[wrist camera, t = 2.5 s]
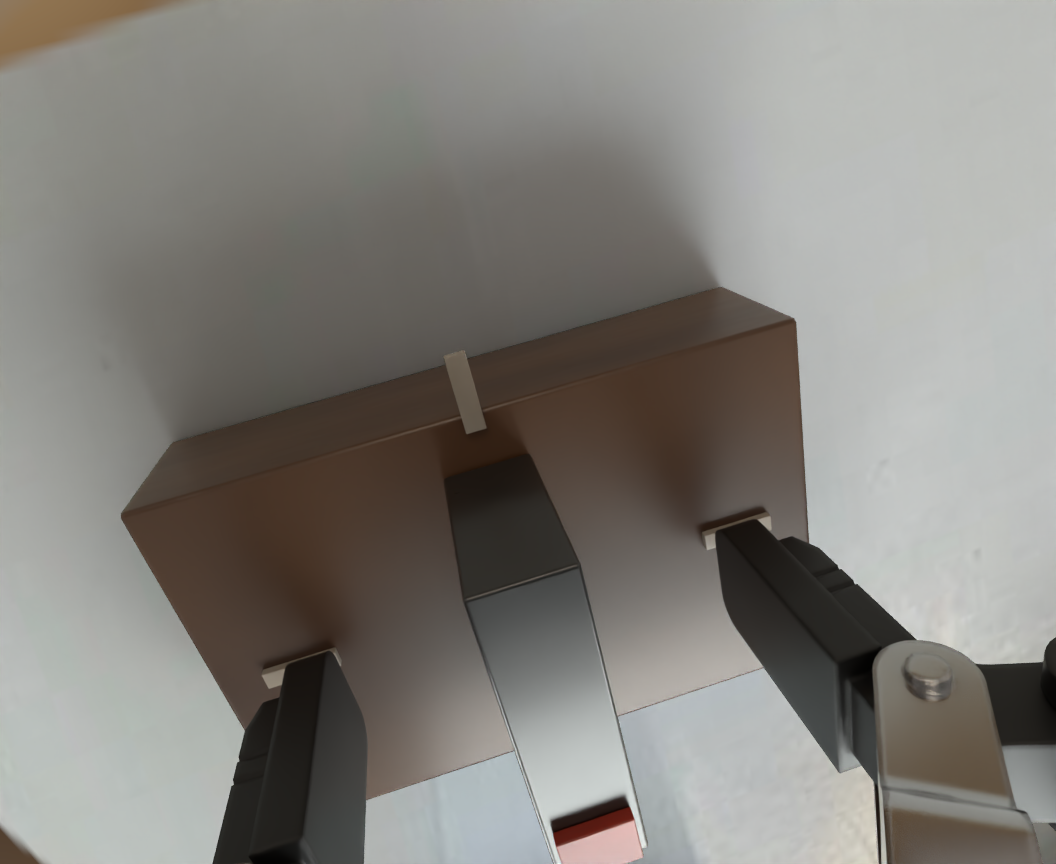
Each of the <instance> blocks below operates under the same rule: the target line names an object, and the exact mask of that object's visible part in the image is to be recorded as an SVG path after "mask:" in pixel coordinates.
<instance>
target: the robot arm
mask: <svg viewBox="0 0 1056 864" xmlns="http://www.w3.org/2000/svg"><path fill="white" fill-rule="evenodd" d="M715 544H716V551H717V559H718V566H719V574H720V581H721V589H722V596H723V600H724V604H725V607H726V610H727V612H728V615H729V617H730V619H731V621H732V623H733V625H734V626H735V628H736V629H737V631H738V632H739V633H740V635H741V636H742V638H743V639H744V640H745V642H746V643H747V645H748V646H749V647H750V649H751V650H752V652H753V653H754V654H755V656H756V657H757V659H758V660H759V661H760V663H761V664H762V666H763V667H764V668H765V670H766V671H767V673H768V674H769V675H770V677H771V678H772V680H773V681H774V682H775V684H776V685H777V687H778V688H779V689H780V691H781V692H782V694H783V695H784V696H785V698H786V699H787V701H788V702H789V703H790V705H791V706H792V708H793V709H794V710H795V712H796V713H797V715H798V716H799V717H800V719H801V720H802V722H803V723H804V724H805V726H806V727H807V729H808V730H809V731H810V733H811V734H812V735H813V737H814V738H815V740H816V741H817V742H818V744H819V745H820V747H821V748H822V749H823V751H824V752H825V754H826V755H827V756H828V758H829V759H830V761H831V762H832V763H833V765H834V766H835V768H836V769H837V770H838V772H839V773H842V772H845V771H848V770H851V769H854V768H857V767H859V766H862V767H863V768H864V769H865V771H866V772H867V773H868V775H869V776H870V777H871V778H872V780H873V781H874V804H875V821H876V839H877V857H878V864H1043V861H1042V857H1041V853H1040V849H1039V845H1038V841H1037V837H1036V834H1035V830H1034V827H1033V824H1032V823H1048V824H1049V825H1050V826H1051V827H1052V828H1053V829H1054V830H1055V831H1056V638H1054V639H1053V640H1052V641H1050V642H1049V644H1048V645H1047V647H1046V650H1045V654H1044V661H1043V662H1039V663H1017V664H995V665H982V664H975V663H974V662H973V661H971V660H970V659H969V658H968V657H967V656H965V655H963V654H962V653H960V652H959V651H957V650H954V649H952V648H950V647H948V646H945V645H942V644H939V643H935V642H930V641H923V640H916V639H915V638H914V637H913V636H912V635H911V634H910V633H909V632H908V631H907V630H906V629H904V628H903V627H902V626H901V625H900V624H899V623H898V622H897V621H896V620H895V619H894V618H893V617H892V616H891V615H890V614H889V613H887V612H886V611H885V610H884V609H883V608H882V607H881V606H880V605H879V604H878V603H877V602H876V601H875V600H874V599H873V598H872V597H870V596H869V595H868V594H867V593H866V592H865V591H864V590H863V589H862V588H861V587H860V586H859V585H858V584H856V585H855V584H854V582H853V580H852V579H851V578H850V577H849V576H848V575H847V574H846V573H845V572H844V571H843V570H842V569H840V570H839V568H838V565H836V564H835V563H834V562H833V561H832V560H831V559H830V558H829V557H828V556H827V555H826V554H825V553H824V552H823V551H822V550H820V549H819V548H818V547H816V546H813V545H811V544H809V543H807V542H804V541H802V540H800V539H798V538H796V537H793V536H790V537H787V538H784V539H781V540H778V539H777V538H776V537H775V536H774V535H773V534H772V533H771V532H770V531H769V530H768V529H767V528H766V527H765V526H764V525H763V524H762V523H761V522H760V521H759V520H757V519H751V520H748V521H745V522H741V523H738V524H735V525H732V526H729V527H725V528H722V529H719V530H717V531H716V533H715ZM367 755H368V740H367V732H366V727H365V722H364V719H363V715H362V712H361V710H360V708H359V705H358V703H357V701H356V699H355V697H354V695H353V693H352V691H351V688H350V686H349V684H348V682H347V680H346V678H345V676H344V674H343V671H342V669H341V667H340V665H339V663H338V661H337V659H336V657H335V655H334V654H333V653H332V652H331V651H326V652H323V653H320V654H317V655H313V656H310V657H307V658H304V659H301V660H297V661H294V662H291V663H288V664H287V665H286V668H285V671H284V676H283V681H282V686H281V691H280V696H279V697H278V698H275V699H272V700H269V701H266V702H263V703H262V705H261V706H260V708H259V709H258V711H257V713H256V714H255V716H254V717H253V719H252V720H251V722H250V723H249V725H248V727H247V728H246V730H245V733H244V738H243V742H242V746H241V750H240V754H239V762H238V763H237V766H236V770H235V774H234V778H233V781H234V785H233V786H231V791H230V795H229V799H228V803H227V807H226V811H225V815H224V819H223V823H222V827H221V831H220V835H219V840H218V844H217V848H216V852H215V856H214V860H213V864H364V840H365V812H366V784H367Z"/></svg>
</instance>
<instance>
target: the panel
mask: <svg viewBox="0 0 1056 864" xmlns="http://www.w3.org/2000/svg"><path fill="white" fill-rule="evenodd" d="M443 358H444V361H445V365H444V366H440V367H437V368H433V369H430V370H426V371H423V372H419V373H416V374H412V375H409V376H405V377H401V378H398V379H394V380H391V381H387V382H384V383H380V384H377V385H373V386H370V387H366V388H363V389H359V390H356V391H352V392H349V393H345V394H342V395H338V396H335V397H331V398H328V399H324V400H321V401H317V402H313V403H310V404H306V405H303V406H299V407H296V408H292V409H289V410H285V411H282V412H278V413H275V414H271V415H268V416H264V417H261V418H257V419H254V420H250V421H247V422H243V423H240V424H236V425H232V426H229V427H225V428H222V429H218V430H215V431H211V432H208V433H204V434H201V435H197V436H194V437H190V438H187V439H183V440H180V441H176V442H173V443H172V444H171V445H170V446H169V447H168V449H167V450H166V452H165V453H164V454H163V456H162V457H161V459H160V460H159V461H158V463H157V464H156V465H155V467H154V468H153V470H152V471H151V472H150V474H149V475H148V477H147V478H146V479H145V481H144V482H143V484H142V485H141V486H140V488H139V489H138V491H137V492H136V493H135V495H134V496H133V498H132V499H131V500H130V502H129V503H128V505H127V506H126V507H125V509H124V510H123V511H122V513H121V519H122V521H123V523H124V524H125V526H126V528H127V530H128V531H129V533H130V535H131V536H132V538H133V540H134V542H135V543H136V545H137V547H138V548H139V550H140V552H141V554H142V555H143V557H144V559H145V560H146V562H147V564H148V566H149V567H150V569H151V571H152V572H153V574H154V576H155V578H156V579H157V581H158V583H159V584H160V586H161V588H162V590H163V591H164V593H165V595H166V596H167V598H168V600H169V602H170V603H171V605H172V607H173V608H174V610H175V612H176V613H177V615H178V617H179V619H180V620H181V622H182V624H183V625H184V627H185V629H186V631H187V632H188V634H189V636H190V637H191V639H192V641H193V643H194V644H195V646H196V648H197V649H198V651H199V653H200V655H201V656H202V658H203V660H204V661H205V663H206V665H207V667H208V668H209V670H210V672H211V673H212V675H213V677H214V679H215V680H216V682H217V684H218V685H219V687H220V689H221V691H222V692H223V694H224V696H225V697H226V699H227V701H228V702H229V704H230V706H231V708H232V709H233V711H234V713H235V714H236V716H237V718H238V720H239V721H240V723H241V725H242V726H243V728H244V730H246V728H247V727H248V725H249V723H250V722H251V720H252V719H253V717H254V716H255V714H256V713H257V711H258V709H259V708H260V706H261V705H262V703H263V702H266V701H269V700H272V699H275V698H278V697H279V696H280V691H281V686H282V681H283V676H284V671H285V668H286V665H287V664H288V663H291V662H294V661H297V660H301V659H304V658H307V657H310V656H313V655H317V654H320V653H323V652H326V651H331V652H332V653H333V654H334V655H335V657H336V659H337V661H338V663H339V665H340V667H341V669H342V671H343V674H344V676H345V678H346V680H347V682H348V684H349V686H350V688H351V691H352V693H353V695H354V697H355V699H356V701H357V703H358V705H359V708H360V710H361V712H362V715H363V719H364V722H365V727H366V732H367V740H368V755H367V784H366V800H368V799H371V798H374V797H377V796H380V795H383V794H386V793H389V792H392V791H395V790H398V789H401V788H404V787H407V786H410V785H413V784H416V783H419V782H422V781H425V780H428V779H431V778H434V777H437V776H440V775H443V774H446V773H449V772H452V771H455V770H458V769H461V768H464V767H467V766H470V765H473V764H476V763H479V762H482V761H485V760H488V759H491V758H494V757H497V756H500V755H503V754H506V753H509V752H512V751H514V748H513V745H512V742H511V739H510V737H509V734H508V731H507V728H506V725H505V722H504V719H503V716H502V713H501V710H500V707H499V705H498V702H497V699H496V696H495V693H494V690H493V687H492V684H491V681H490V678H489V675H488V673H487V670H486V667H485V664H484V661H483V658H482V655H481V652H480V649H479V646H478V644H477V641H476V638H475V635H474V632H473V629H472V626H471V623H470V620H469V617H468V614H467V612H466V609H465V606H464V603H463V598H462V592H461V586H460V580H459V574H458V568H457V561H456V555H455V549H454V543H453V537H452V531H451V525H450V519H449V513H448V507H447V501H446V494H445V488H444V479H445V478H447V477H451V476H454V475H457V474H461V473H464V472H468V471H471V470H474V469H478V468H481V467H484V466H488V465H491V464H494V463H498V462H501V461H505V460H508V459H511V458H515V457H518V456H521V455H525V454H530V455H531V456H532V458H533V461H534V463H535V465H536V467H537V469H538V472H539V474H540V476H541V478H542V480H543V483H544V485H545V487H546V489H547V491H548V493H549V496H550V498H551V500H552V502H553V504H554V507H555V509H556V511H557V513H558V515H559V518H560V520H561V522H562V524H563V526H564V528H565V531H566V533H567V535H568V537H569V539H570V542H571V544H572V546H573V548H574V550H575V552H576V555H577V557H578V559H579V561H580V563H581V566H582V571H583V575H584V579H585V583H586V587H587V591H588V596H589V600H590V604H591V608H592V612H593V616H594V620H595V625H596V629H597V633H598V637H599V641H600V645H601V650H602V654H603V658H604V662H605V666H606V670H607V675H608V679H609V683H610V687H611V691H612V695H613V700H614V704H615V708H616V712H617V716H620V715H623V714H626V713H629V712H632V711H635V710H638V709H641V708H644V707H647V706H650V705H653V704H656V703H659V702H662V701H665V700H669V699H672V698H675V697H678V696H681V695H684V694H687V693H690V692H693V691H696V690H699V689H702V688H705V687H708V686H711V685H714V684H717V683H720V682H723V681H726V680H729V679H732V678H735V677H738V676H741V675H744V674H747V673H750V672H753V671H756V670H759V669H762V668H764V667H763V666H762V664H761V663H760V661H759V660H758V659H757V657H756V656H755V654H754V653H753V652H752V650H751V649H750V647H749V646H748V645H747V643H746V642H745V640H744V639H743V638H742V636H741V635H740V633H739V632H738V631H737V629H736V628H735V626H734V625H733V623H732V621H731V619H730V617H729V615H728V612H727V610H726V607H725V604H724V600H723V596H722V589H721V581H720V574H719V566H718V559H717V551H716V544H715V533H716V531H717V530H719V529H722V528H725V527H729V526H732V525H735V524H738V523H741V522H745V521H748V520H751V519H757V520H759V521H760V522H761V523H762V524H763V525H764V526H765V527H766V528H767V529H768V530H769V531H770V532H771V533H772V534H773V535H774V536H775V537H776V538H777V539H778V540H781V539H784V538H787V537H790V536H793V537H796V538H798V539H800V540H802V541H804V542H807V543H809V535H808V518H807V501H806V484H805V466H804V449H803V432H802V415H801V398H800V381H799V363H798V346H797V329H796V321H795V319H794V318H792V317H790V316H788V315H785V314H783V313H781V312H778V311H776V310H774V309H771V308H769V307H767V306H764V305H762V304H760V303H758V302H755V301H753V300H751V299H748V298H746V297H744V296H741V295H739V294H737V293H735V292H732V291H730V290H728V289H725V288H723V287H718V288H715V289H711V290H708V291H704V292H701V293H697V294H694V295H690V296H687V297H683V298H680V299H676V300H673V301H669V302H666V303H662V304H659V305H655V306H652V307H648V308H644V309H641V310H637V311H634V312H630V313H627V314H623V315H620V316H616V317H613V318H609V319H606V320H602V321H599V322H595V323H592V324H588V325H585V326H581V327H578V328H574V329H571V330H567V331H563V332H560V333H556V334H553V335H549V336H546V337H542V338H539V339H535V340H532V341H528V342H525V343H521V344H518V345H514V346H511V347H507V348H504V349H500V350H497V351H493V352H490V353H486V354H482V355H479V356H475V357H472V358H468V359H467V357H466V353H465V351H464V350H462V351H458V352H455V353H451V354H448V355H444V356H443Z"/></svg>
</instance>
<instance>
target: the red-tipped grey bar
mask: <svg viewBox="0 0 1056 864" xmlns="http://www.w3.org/2000/svg"><path fill="white" fill-rule="evenodd" d="M444 488H445V494H446V501H447V507H448V513H449V519H450V525H451V531H452V537H453V543H454V549H455V555H456V561H457V568H458V574H459V580H460V586H461V592H462V598H463V603H464V606H465V609H466V612H467V614H468V617H469V620H470V623H471V626H472V629H473V632H474V635H475V638H476V641H477V644H478V646H479V649H480V652H481V655H482V658H483V661H484V664H485V667H486V670H487V673H488V675H489V678H490V681H491V684H492V687H493V690H494V693H495V696H496V699H497V702H498V705H499V707H500V710H501V713H502V716H503V719H504V722H505V725H506V728H507V731H508V734H509V737H510V739H511V742H512V745H513V748H514V751H515V754H516V757H517V760H518V763H519V766H520V768H521V771H522V774H523V777H524V780H525V783H526V786H527V789H528V792H529V795H530V798H531V800H532V803H533V806H534V809H535V812H536V815H537V818H538V821H539V824H540V827H541V830H542V832H543V835H544V838H545V841H546V844H547V847H548V850H549V853H550V856H551V859H552V861H553V864H626V863H629V862H632V861H635V860H638V859H641V858H643V857H644V855H643V851H642V849H644V848H646V847H647V846H648V841H647V837H646V833H645V829H644V824H643V820H642V816H641V812H640V808H639V804H638V799H637V795H636V791H635V787H634V783H633V779H632V774H631V770H630V766H629V762H628V758H627V754H626V749H625V745H624V741H623V737H622V733H621V729H620V725H619V720H618V716H617V712H616V708H615V704H614V700H613V695H612V691H611V687H610V683H609V679H608V675H607V670H606V666H605V662H604V658H603V654H602V650H601V645H600V641H599V637H598V633H597V629H596V625H595V620H594V616H593V612H592V608H591V604H590V600H589V596H588V591H587V587H586V583H585V579H584V575H583V571H582V566H581V563H580V561H579V559H578V557H577V555H576V552H575V550H574V548H573V546H572V544H571V542H570V539H569V537H568V535H567V533H566V531H565V528H564V526H563V524H562V522H561V520H560V518H559V515H558V513H557V511H556V509H555V507H554V504H553V502H552V500H551V498H550V496H549V493H548V491H547V489H546V487H545V485H544V483H543V480H542V478H541V476H540V474H539V472H538V469H537V467H536V465H535V463H534V461H533V458H532V456H531V455H530V454H525V455H521V456H518V457H515V458H511V459H508V460H505V461H501V462H498V463H494V464H491V465H488V466H484V467H481V468H478V469H474V470H471V471H468V472H464V473H461V474H457V475H454V476H451V477H447V478H445V479H444Z"/></svg>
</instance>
